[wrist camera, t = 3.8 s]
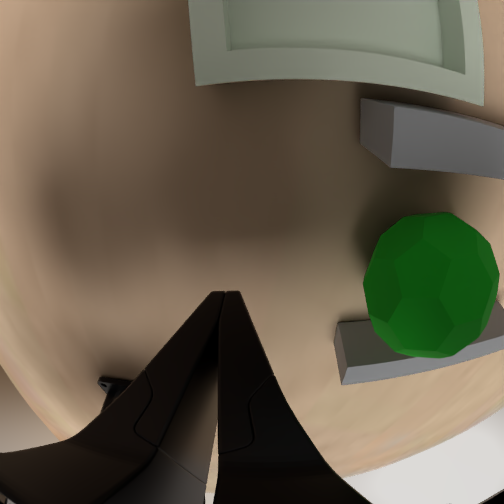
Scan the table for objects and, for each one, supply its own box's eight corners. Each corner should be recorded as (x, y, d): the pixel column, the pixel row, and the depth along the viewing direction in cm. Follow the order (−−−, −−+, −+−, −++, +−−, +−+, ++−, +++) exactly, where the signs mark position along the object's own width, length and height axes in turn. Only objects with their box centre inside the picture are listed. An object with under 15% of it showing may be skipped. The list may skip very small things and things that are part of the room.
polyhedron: (426, 297, 12) (465, 378, 8) (334, 289, 12) (358, 391, 8) (471, 203, 9) (543, 275, 5) (372, 175, 9) (444, 257, 5)
